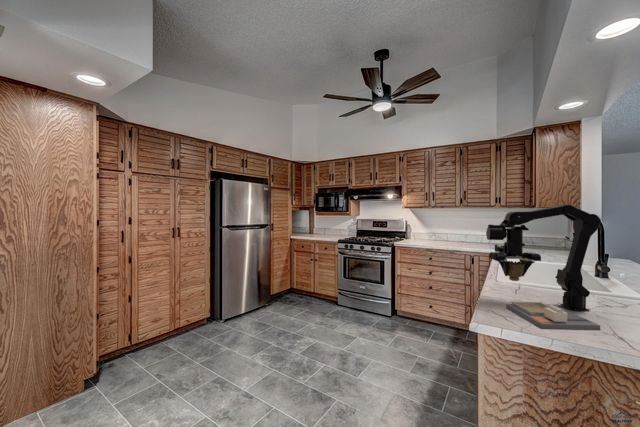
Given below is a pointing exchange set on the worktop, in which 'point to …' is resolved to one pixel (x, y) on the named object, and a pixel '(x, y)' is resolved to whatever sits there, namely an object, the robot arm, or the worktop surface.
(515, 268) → the cup
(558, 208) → the robot arm
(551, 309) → the breaker switch
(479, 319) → the worktop surface
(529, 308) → the lockout tray
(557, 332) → the worktop surface
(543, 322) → the grey flat square slab
